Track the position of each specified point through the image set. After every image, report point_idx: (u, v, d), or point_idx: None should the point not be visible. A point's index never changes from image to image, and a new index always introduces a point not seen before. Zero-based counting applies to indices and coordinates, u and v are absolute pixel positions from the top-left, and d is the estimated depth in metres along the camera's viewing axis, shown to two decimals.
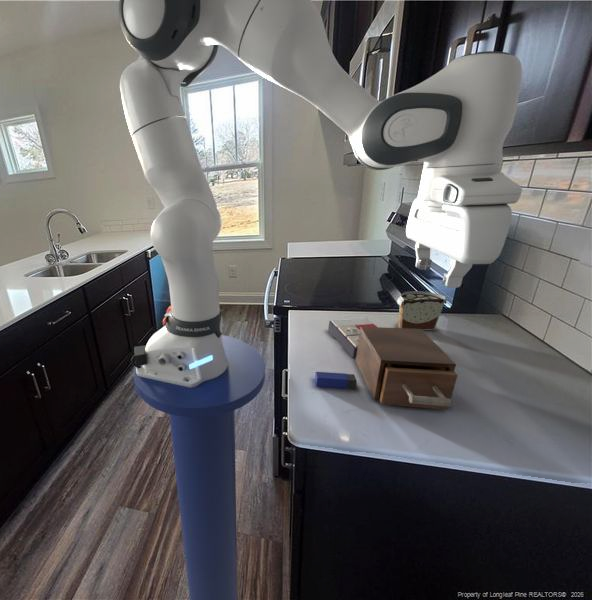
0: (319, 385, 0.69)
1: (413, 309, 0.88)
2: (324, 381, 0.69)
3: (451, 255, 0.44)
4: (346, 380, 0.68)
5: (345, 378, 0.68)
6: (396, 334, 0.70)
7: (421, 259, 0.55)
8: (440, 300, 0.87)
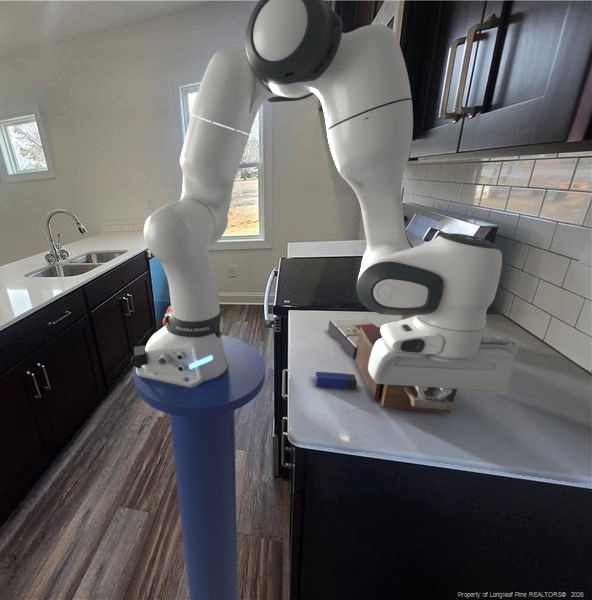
0: (319, 385, 0.69)
1: None
2: (324, 381, 0.69)
3: None
4: (346, 380, 0.68)
5: (345, 378, 0.68)
6: None
7: (430, 394, 0.56)
8: None
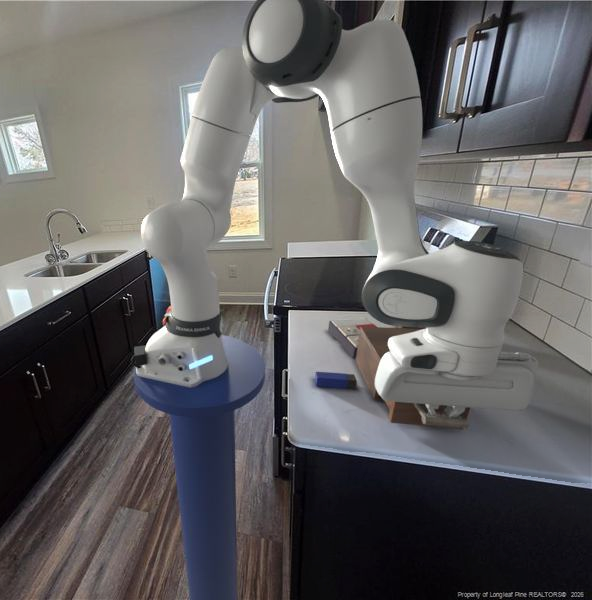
0: (319, 385, 0.69)
1: None
2: (324, 381, 0.69)
3: None
4: (346, 380, 0.68)
5: (345, 378, 0.68)
6: (396, 334, 0.70)
7: (441, 411, 0.53)
8: None
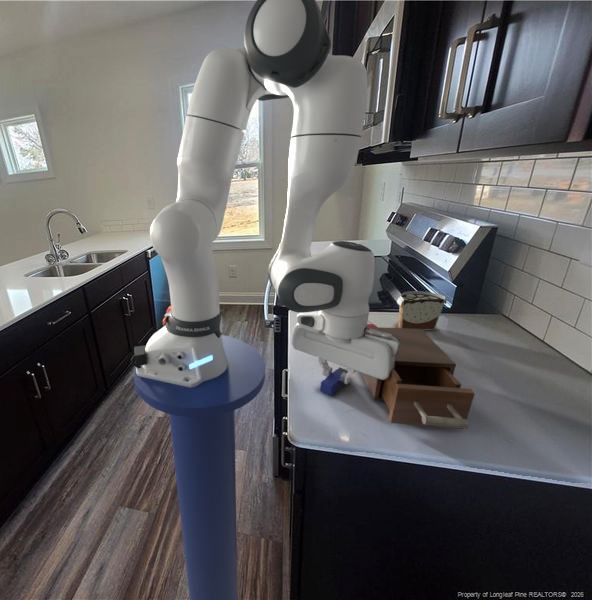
0: (332, 392, 0.67)
1: (413, 309, 0.88)
2: (335, 386, 0.67)
3: None
4: None
5: None
6: (396, 334, 0.70)
7: (345, 373, 0.68)
8: (440, 300, 0.87)
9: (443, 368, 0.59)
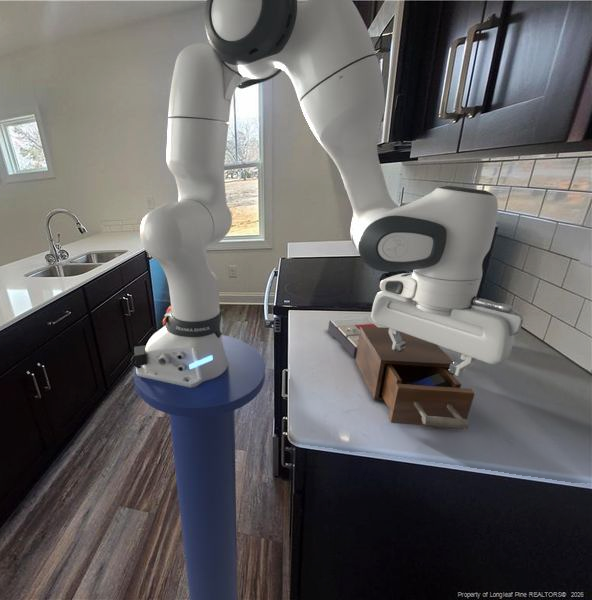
0: None
1: None
2: None
3: None
4: None
5: None
6: None
7: (457, 362, 0.53)
8: None
9: (443, 368, 0.59)
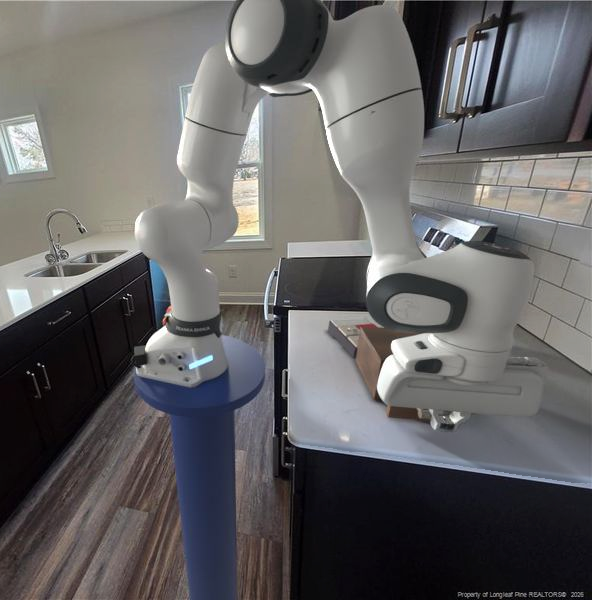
0: None
1: None
2: None
3: None
4: None
5: None
6: (396, 334, 0.70)
7: (446, 417, 0.51)
8: None
9: None
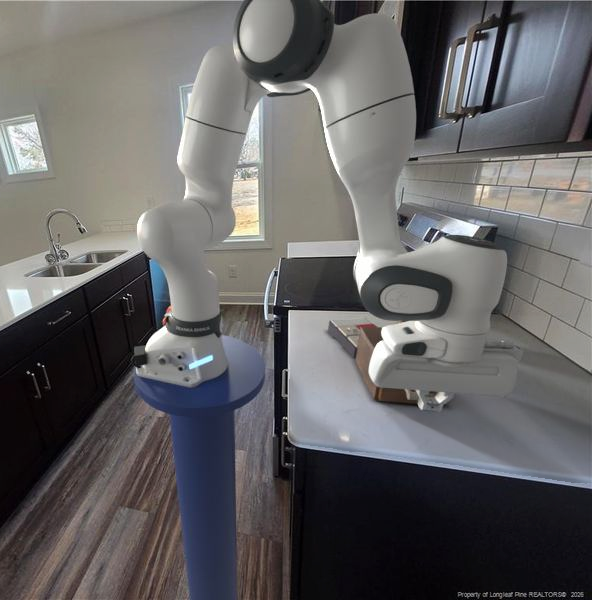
0: None
1: None
2: None
3: None
4: None
5: None
6: None
7: (432, 398, 0.55)
8: None
9: None
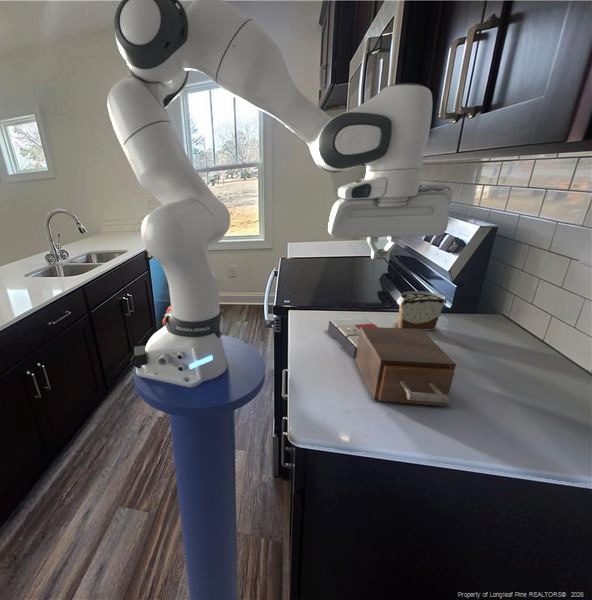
0: None
1: (413, 309, 0.88)
2: None
3: None
4: None
5: None
6: (396, 334, 0.70)
7: (382, 249, 0.64)
8: (440, 300, 0.87)
9: None
